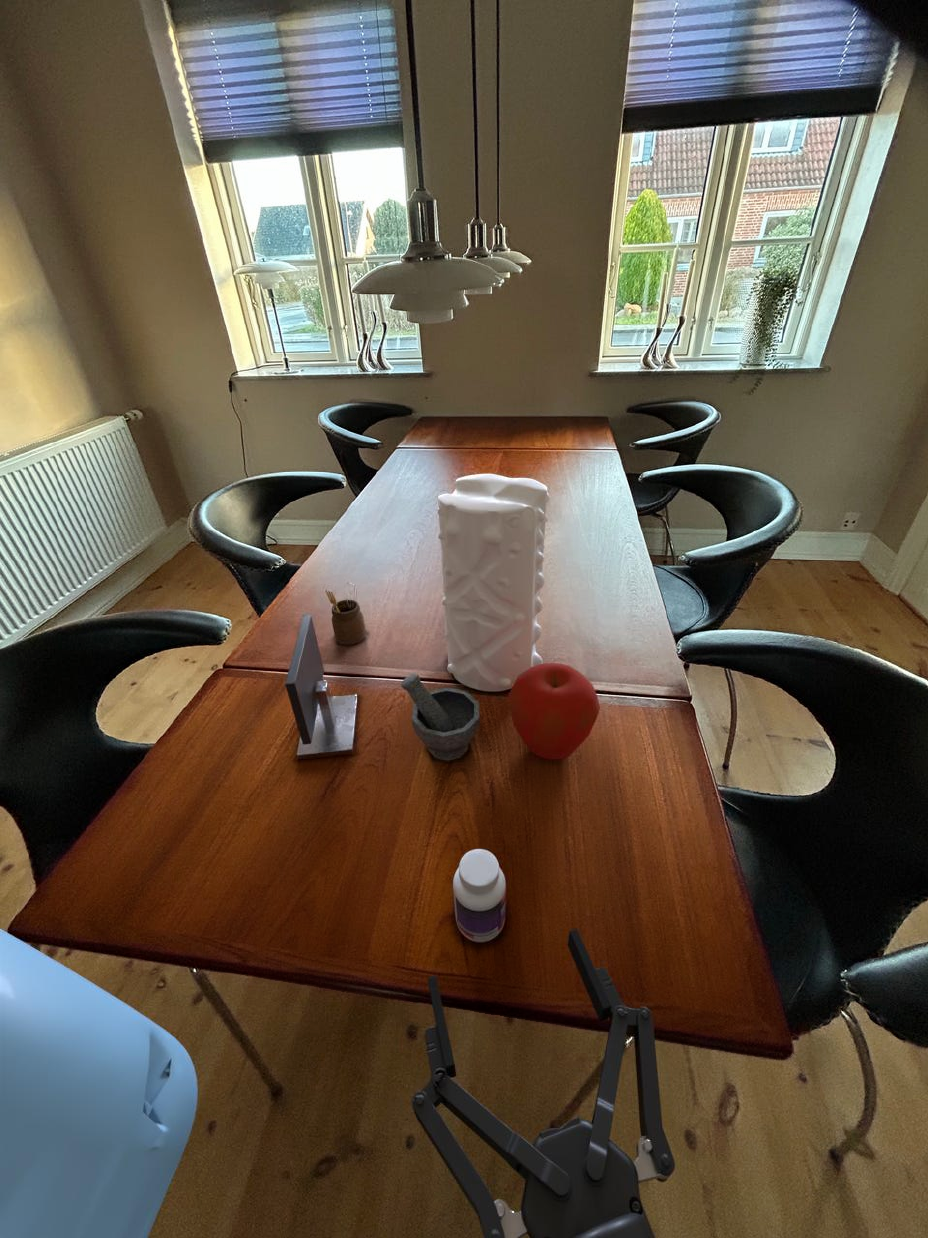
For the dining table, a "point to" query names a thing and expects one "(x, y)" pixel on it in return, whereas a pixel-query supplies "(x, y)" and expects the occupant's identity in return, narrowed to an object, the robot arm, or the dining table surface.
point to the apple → (553, 709)
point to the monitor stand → (331, 725)
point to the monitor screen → (305, 679)
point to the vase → (492, 577)
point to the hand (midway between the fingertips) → (504, 959)
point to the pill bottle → (479, 896)
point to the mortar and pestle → (443, 718)
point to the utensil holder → (347, 620)
